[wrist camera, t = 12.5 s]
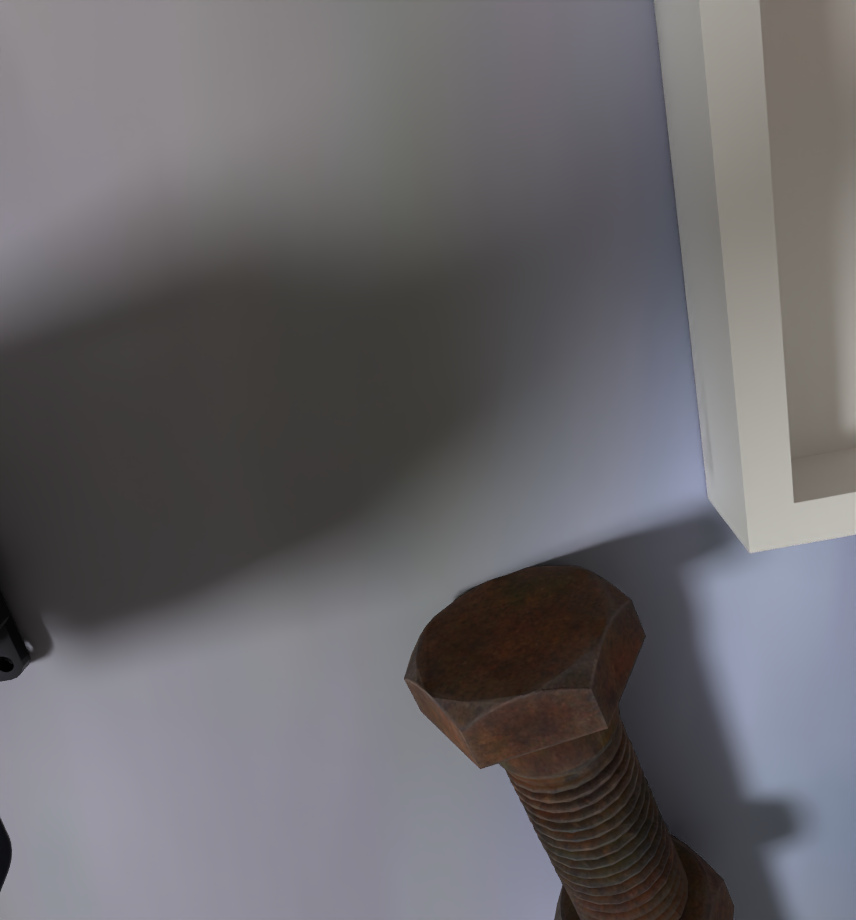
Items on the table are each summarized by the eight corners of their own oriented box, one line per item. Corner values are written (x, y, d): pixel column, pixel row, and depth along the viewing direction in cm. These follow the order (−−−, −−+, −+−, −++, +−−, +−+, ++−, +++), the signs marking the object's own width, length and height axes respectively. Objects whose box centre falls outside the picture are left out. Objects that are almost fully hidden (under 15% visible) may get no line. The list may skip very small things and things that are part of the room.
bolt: (635, 908, 28) (473, 558, 22) (790, 943, 25) (643, 548, 19) (579, 1089, 23) (364, 709, 18) (757, 1158, 20) (560, 727, 15)
